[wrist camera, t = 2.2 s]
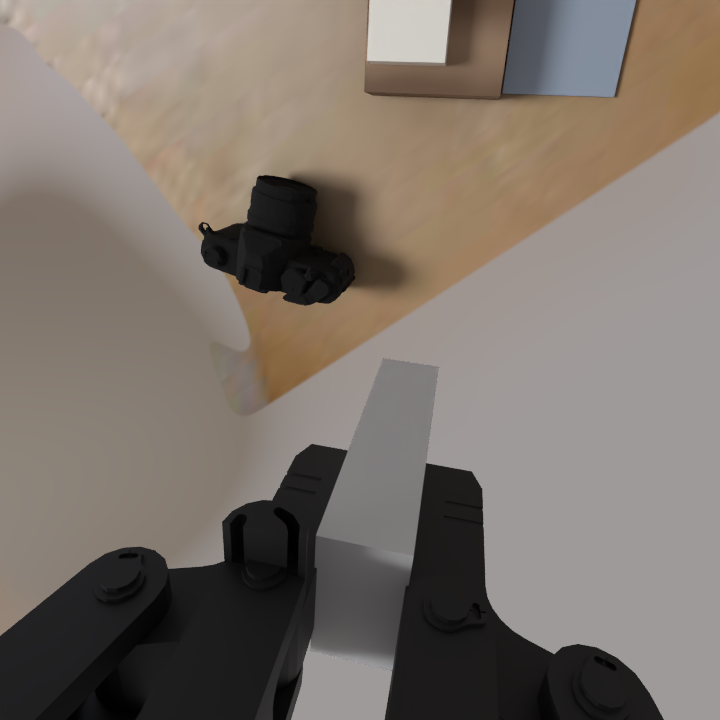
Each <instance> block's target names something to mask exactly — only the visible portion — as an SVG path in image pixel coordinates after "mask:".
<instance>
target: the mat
mask: <svg viewBox="0 0 720 720" xmlns="http://www.w3.org/2000/svg"><path fill="white" fill-rule="evenodd" d="M635 3H636V0H516V1H515V8H514V15H513V22H512V29H511V36H510V43H509V49H508V56H507V63H506V70H505V77H504V84H503V91H502V94H531V95H560V96H589V97H614V95H615V91H616V86H617V82H618V78H619V73H620V69H621V64H622V60H623V56H624V51H625V47H626V43H627V38H628V34H629V29H630V25H631V21H632V16H633V12H634V8H635Z"/></svg>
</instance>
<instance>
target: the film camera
mask: <svg viewBox="0 0 720 720" xmlns="http://www.w3.org/2000/svg"><path fill="white" fill-rule="evenodd" d="M316 194H317V191H316V189H314V188H312V187H310V186H307V185H306V184H303V183H300V182H296V181H293V180H290V179H286V178H282V177H276V176H269V175H264V176H258V178H257V181H256V186H254V187H253V189H252V195H251V206H250V209H248V214H247V219H248V221H247V222H245V224H238V223H237V224H233V225H231V226H229V227H226V228H223V229H221V230H218V231H213V230H212V229H211V228H210V226H209V224H207V223H204V222H202V223H201V224H200V225H199V230H200V231H201V233H202V234H203V235H204V240H203V242H202V245H201V254H202V256H203V259H204V262H205V263H206V264H207V265H209V266H210V267H212V268H215V269H218V270H220V271H223V272H226V273H229V274H231V275H234V276H236V278H237V280H238V281H239V284H240V285H244V286H245V287H246V288H249V289H252V290H255V291H258V292H261V293H267V292H269V291H276V292H277V291H281V292H284V293H287V294H286V295H285V296H283V299H284V300H285V301H288V302H292V303H296V304H300V305H304V306H305V305H311V304H313V303H315V302H318V303H326V304H328V303H331V302H333V301H335V300H336V299H337V298H338V297H339V296H340V295H341V293H342V292H344V291H345V290H346V289H347V288H348V287H349V285H350V284H351V282H352V281H353V280H354V279H355V276H354V273H355V270H354V266H353V263H352V260H351V258H350V257H349V256H348V255H347V254H345V253H344V252H343V253H341V254H340V255H338V254H335V253H332V252H329V251H326V250H323V248H322V247H319V246H316V247H313V246H311V245H310V242H311V240H312V239H311V235H310V233H312V232H313V227H314V224H313V220H314V217H315V213H316V209H317V203H316V201H315V197H316ZM203 224H206V225H207V226H208V227H207V228H206V230H205V229H204V228H203Z"/></svg>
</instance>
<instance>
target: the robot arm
mask: <svg viewBox="0 0 720 720" xmlns="http://www.w3.org/2000/svg"><path fill="white" fill-rule="evenodd" d="M438 368H439V367H437V366H430V365H423V364H417V363H410V362H404V361H397V360H391V359H384V358H383V360H382V363H381V365H380V368H379V370H378V373H377V376H376V378H375V381H374V384H373V386H372V389H371V391H370V394H369V397H368V399H367V402H366V405H365V407H364V410H363V413H362V416H361V418H360V421H359V423H358V426H357V429H356V431H355V434H354V436H353V439H352V442H351V444H350V447H349V450H348V451H347V450H342V449H337V448H331V447H326V446H320V445H314V444H311V445H310V446H309V447H307V448H306V449H305V450H303V451H302V452H300V453H299V454H298V455H296V456H295V458H294V460H293V462H292V464H291V466H290V468H289V470H288V471H287V475H285V477H284V479H283V481H282V483H281V485H280V488H279V489H278V490H277V492H276V494H275V496H274V498H273V500H272V501H267V500H261V501H257V502H252V503H247V504H245V505H244V506H241V507H239V508H238V509H236V510H234V511H232V512H231V513H230V514H229V515H228V517H227V518H226V519H225V520H224V521H223V522H222V525H223V540H224V541H223V542H224V559H225V561H224V562H220V563H217V564H215V565H209V566H203V567H192V568H178V569H177V568H176V569H168V568H167V564H166V561H165V559H164V558H163V557H162V556H161V555H160V554H158V553H157V552H156V551H154V550H151V549H147V548H143V547H130V548H122V549H118V550H116V551H112V552H109V553H107V554H104V555H103V556H101V557H100V558H98V559H97V560H95V561H93V562H92V563H90V564H89V565H87V566H86V567H85V568H84V569H82V570H81V571H80V572H79V573H78V574H76V575H75V576H74V577H73V578H71V579H70V580H69V581H68V582H66V583H65V584H64V585H63V586H61V587H60V588H59V589H58V590H57V591H55V592H54V593H53V594H52V595H50V596H49V597H48V598H47V599H45V600H44V601H43V602H42V603H41V604H39V605H38V606H37V607H36V608H35V609H33V610H32V611H31V612H29V613H28V614H27V615H26V616H25V617H23V618H22V619H21V620H19V621H18V622H17V623H16V624H15V625H13V626H12V627H11V628H10V629H8V630H7V631H6V632H5V633H3V634H2V635H1V636H0V720H291V717H292V714H293V711H294V707H295V704H296V700H297V697H298V694H299V690H300V687H301V682H302V673H303V661H304V658H305V655H306V651H307V648H308V645H309V642H310V639H311V648H310V651H313V652H317V653H321V654H325V655H329V656H333V657H337V658H342V659H346V660H350V661H353V662H358V663H362V664H366V665H370V666H374V667H378V668H382V669H386V670H390V671H392V678H391V685H390V691H389V697H388V703H387V709H386V715H385V720H664V719H663V717H662V715H661V714H660V712H659V710H658V708H657V706H656V704H655V702H654V701H653V699H652V697H651V695H650V693H649V692H648V690H647V689H646V688H645V686H644V685H643V684H642V682H641V681H640V679H639V678H638V677H637V675H636V674H635V673H634V672H633V671H632V670H631V669H629V668H628V667H627V666H626V665H625V664H624V663H622V662H621V661H620V660H619V659H618V658H616V657H614V656H612V655H610V654H608V653H607V652H605V651H602V650H600V649H598V648H596V647H590V646H585V645H580V644H576V645H571V646H566V647H562V648H561V649H560V650H559V651H558V652H556V653H555V654H553V653H551V652H549V651H547V650H545V649H543V648H541V647H540V646H538V645H536V644H534V643H532V642H530V641H528V640H526V639H525V638H523V637H522V636H520V635H518V634H517V633H515V632H514V631H512V630H511V629H510V628H509V627H508V626H507V625H506V624H505V623H504V622H503V621H501V619H500V618H499V617H498V615H497V614H496V613H495V611H494V610H493V609H492V606H491V604H490V602H489V600H488V598H487V593H486V587H485V559H484V530H483V511H482V509H483V499H482V488H481V486H480V485H479V483H478V481H477V480H476V478H475V476H474V475H473V473H472V472H471V471H466V470H460V469H454V468H449V467H444V466H438V465H432V464H427V463H426V459H427V451H428V444H429V436H430V429H431V421H432V413H433V406H434V398H435V391H436V383H437V376H438Z"/></svg>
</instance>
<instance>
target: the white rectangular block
mask: <svg viewBox="0 0 720 720" xmlns="http://www.w3.org/2000/svg"><path fill="white" fill-rule="evenodd" d="M452 1H453V0H370V1H369V25H368V48H367V61H368V62H369V63H371V64H385V65H423V66H446V61H447V51H448V41H449V31H450V21H451V11H452Z"/></svg>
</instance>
